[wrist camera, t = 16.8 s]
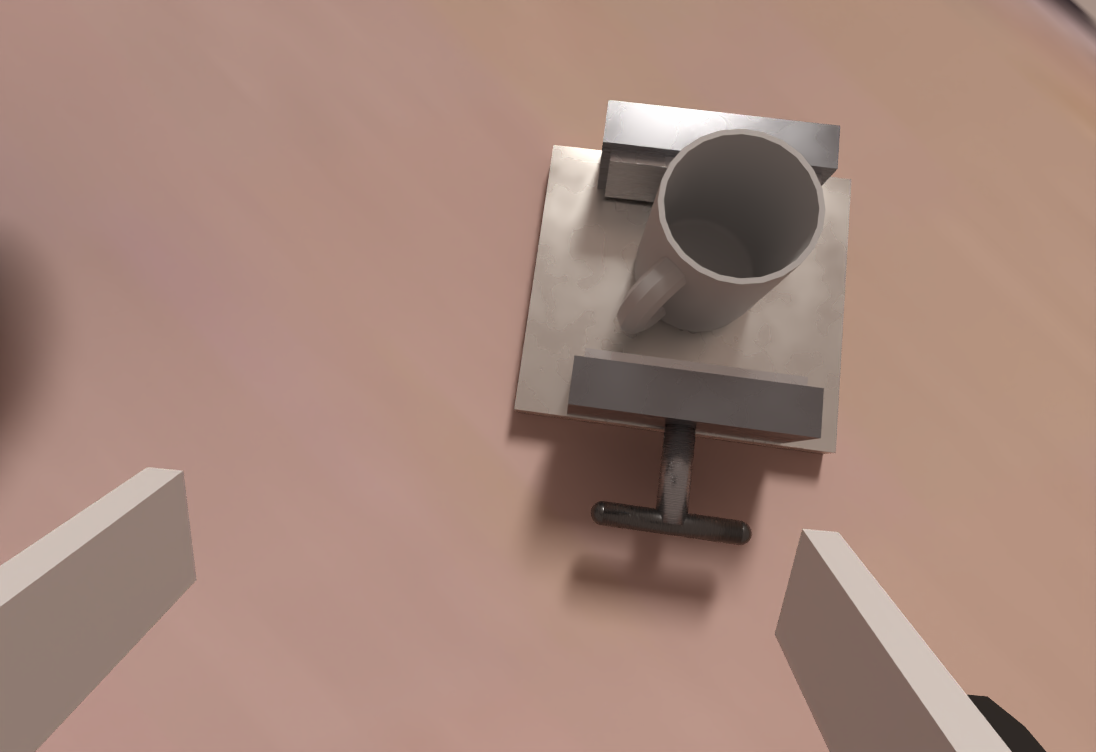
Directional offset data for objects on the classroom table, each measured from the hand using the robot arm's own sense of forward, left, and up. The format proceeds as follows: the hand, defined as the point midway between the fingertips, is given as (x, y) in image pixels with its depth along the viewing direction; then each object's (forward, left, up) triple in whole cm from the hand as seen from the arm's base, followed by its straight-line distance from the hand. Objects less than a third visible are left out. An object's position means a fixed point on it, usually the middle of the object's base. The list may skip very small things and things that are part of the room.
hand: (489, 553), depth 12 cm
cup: (+7, +13, -20) cm, 25 cm away
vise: (+7, +11, -21) cm, 25 cm away
